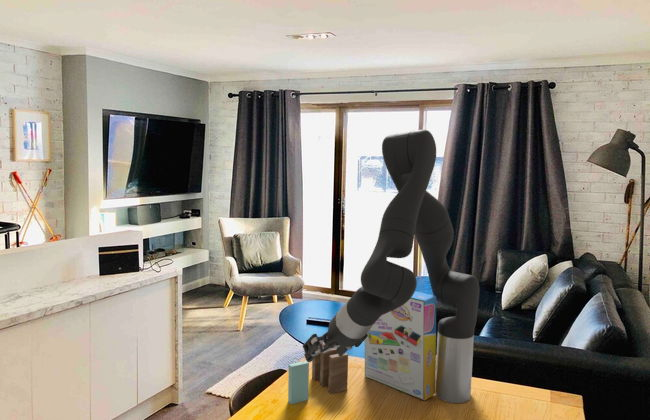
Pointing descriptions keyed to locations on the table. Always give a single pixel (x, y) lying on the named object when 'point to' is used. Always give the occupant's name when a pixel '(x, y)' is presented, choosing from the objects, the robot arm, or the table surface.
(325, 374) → the domino
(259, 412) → the table surface
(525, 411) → the table surface
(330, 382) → the domino
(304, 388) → the teal domino
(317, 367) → the domino
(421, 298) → the game box
